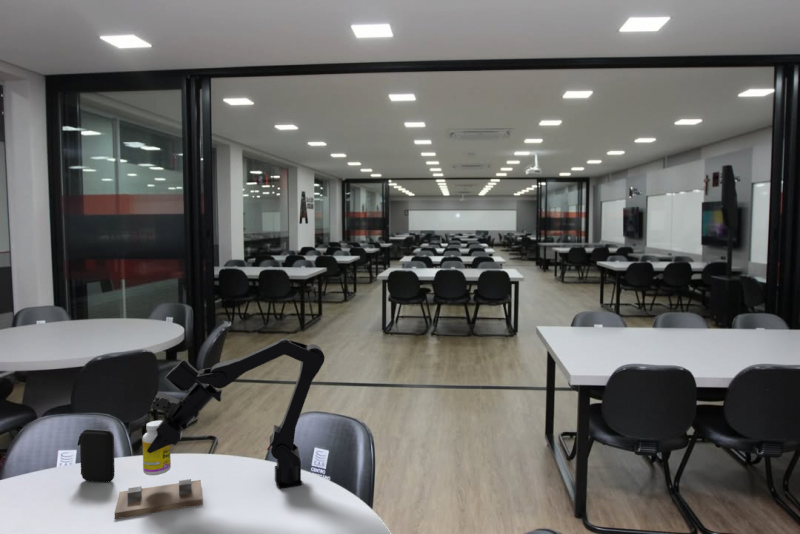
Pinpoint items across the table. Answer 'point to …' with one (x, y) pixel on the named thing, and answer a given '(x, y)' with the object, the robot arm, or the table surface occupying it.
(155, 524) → the table surface
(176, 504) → the board
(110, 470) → the carrying case or bag
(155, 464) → the supplement bottle
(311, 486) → the table surface
